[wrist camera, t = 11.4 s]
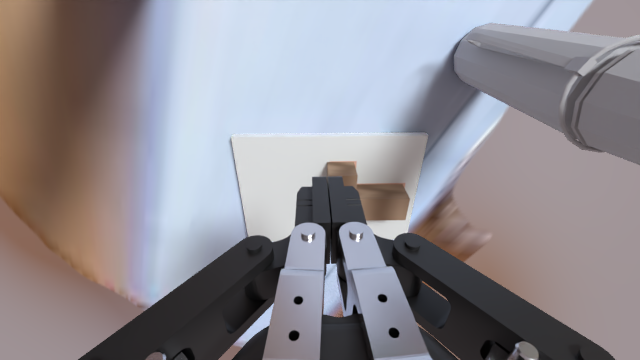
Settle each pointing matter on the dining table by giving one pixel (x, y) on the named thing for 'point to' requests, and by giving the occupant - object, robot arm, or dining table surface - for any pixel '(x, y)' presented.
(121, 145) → the dining table surface
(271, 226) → the board
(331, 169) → the tee block
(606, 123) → the water bottle
